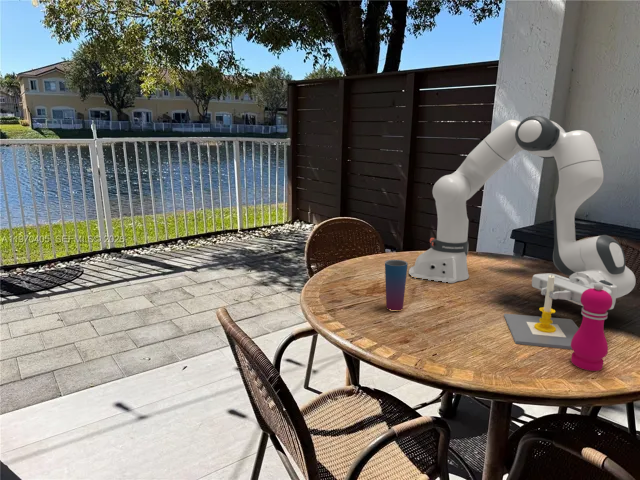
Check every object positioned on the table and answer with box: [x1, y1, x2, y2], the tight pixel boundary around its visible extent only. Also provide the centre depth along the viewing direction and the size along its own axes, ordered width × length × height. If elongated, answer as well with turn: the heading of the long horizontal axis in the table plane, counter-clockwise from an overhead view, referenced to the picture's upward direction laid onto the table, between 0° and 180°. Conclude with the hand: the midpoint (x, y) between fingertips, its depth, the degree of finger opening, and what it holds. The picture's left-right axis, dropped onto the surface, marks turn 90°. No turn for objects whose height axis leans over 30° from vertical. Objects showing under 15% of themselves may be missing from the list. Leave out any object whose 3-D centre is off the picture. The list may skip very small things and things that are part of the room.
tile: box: [503, 313, 580, 351], centre depth 114 cm, size 18×18×1 cm
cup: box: [384, 259, 408, 310], centre depth 129 cm, size 7×7×15 cm
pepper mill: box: [570, 283, 612, 372], centre depth 96 cm, size 7×7×20 cm
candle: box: [534, 275, 556, 333], centre depth 113 cm, size 5×5×16 cm
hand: (547, 293), depth 112 cm, fingers closed on candle
